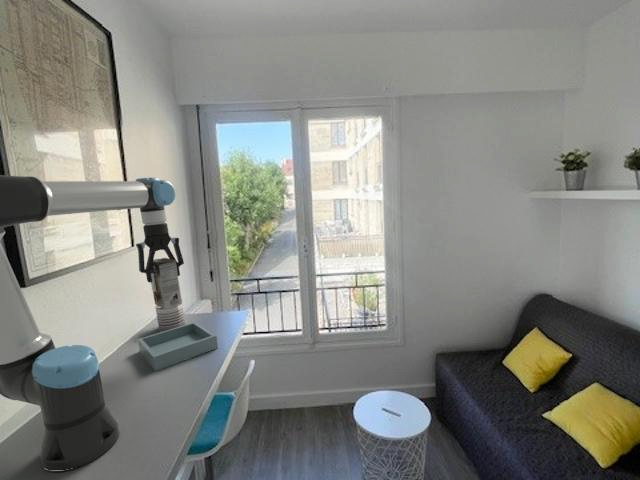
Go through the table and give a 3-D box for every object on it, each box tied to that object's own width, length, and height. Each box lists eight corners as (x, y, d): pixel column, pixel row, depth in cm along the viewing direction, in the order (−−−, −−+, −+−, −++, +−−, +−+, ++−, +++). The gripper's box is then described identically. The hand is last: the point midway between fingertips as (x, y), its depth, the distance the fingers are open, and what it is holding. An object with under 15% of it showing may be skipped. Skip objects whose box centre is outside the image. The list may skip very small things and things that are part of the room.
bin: (155, 371, 116) (153, 357, 115) (139, 351, 133) (137, 339, 132) (217, 348, 130) (216, 335, 129) (196, 333, 147) (194, 321, 146)
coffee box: (154, 304, 124) (146, 260, 121) (172, 299, 128) (165, 257, 126) (164, 309, 117) (156, 263, 115) (182, 303, 122) (175, 259, 119)
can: (168, 334, 148) (164, 307, 146) (153, 330, 154) (149, 304, 152) (191, 324, 157) (187, 299, 156) (175, 321, 163) (172, 297, 162)
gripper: (180, 219, 127) (190, 279, 131) (120, 227, 115) (132, 293, 119) (187, 219, 122) (197, 282, 125) (124, 228, 109) (137, 297, 113)
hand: (165, 287), depth 122 cm, fingers closed on coffee box, 7 cm apart
